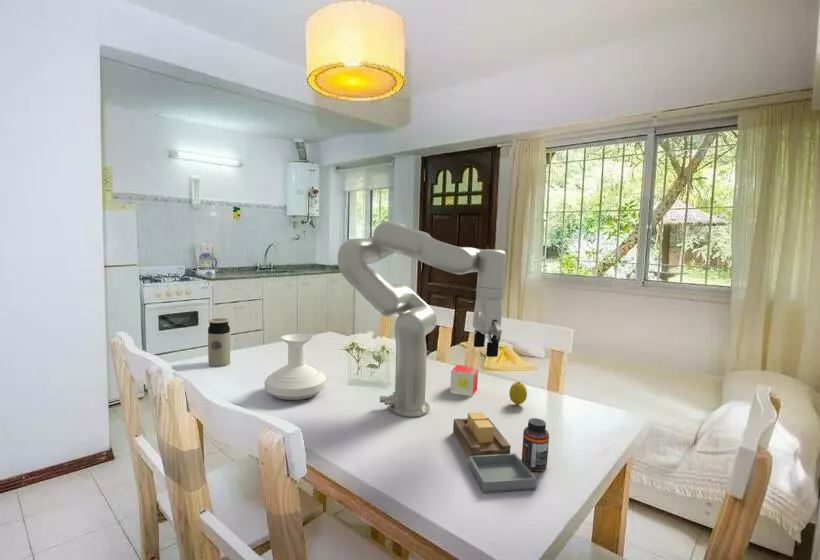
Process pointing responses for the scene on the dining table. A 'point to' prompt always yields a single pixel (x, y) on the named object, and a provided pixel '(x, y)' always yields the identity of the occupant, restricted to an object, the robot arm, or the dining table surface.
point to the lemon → (518, 393)
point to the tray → (501, 473)
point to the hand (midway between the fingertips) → (485, 351)
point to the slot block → (473, 446)
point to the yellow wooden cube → (483, 431)
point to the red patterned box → (464, 380)
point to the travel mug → (218, 342)
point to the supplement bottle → (535, 445)
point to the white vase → (295, 373)
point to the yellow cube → (474, 419)
